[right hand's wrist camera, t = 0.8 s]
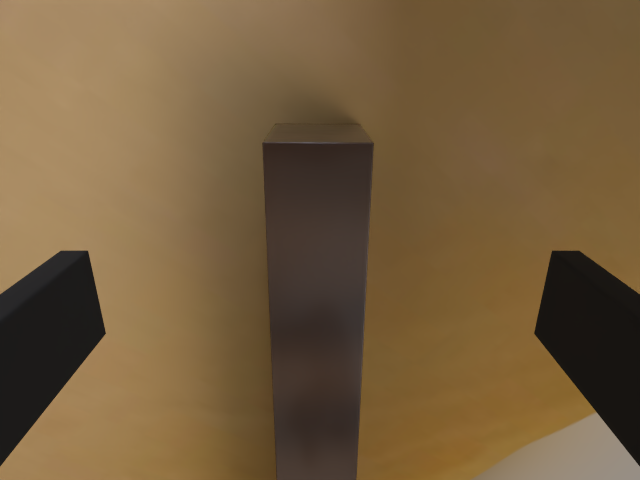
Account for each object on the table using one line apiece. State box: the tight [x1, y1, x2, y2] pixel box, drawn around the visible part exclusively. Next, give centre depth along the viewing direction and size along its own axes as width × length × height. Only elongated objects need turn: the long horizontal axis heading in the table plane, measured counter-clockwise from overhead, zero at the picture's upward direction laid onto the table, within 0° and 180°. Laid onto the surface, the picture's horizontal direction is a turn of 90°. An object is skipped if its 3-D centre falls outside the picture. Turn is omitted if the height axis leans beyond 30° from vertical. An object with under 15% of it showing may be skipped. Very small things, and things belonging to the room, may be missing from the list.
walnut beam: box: [263, 124, 374, 480], centre depth 29 cm, size 34×5×6 cm, turn 0°
